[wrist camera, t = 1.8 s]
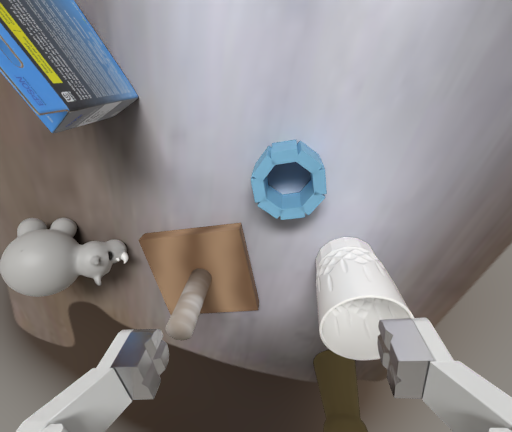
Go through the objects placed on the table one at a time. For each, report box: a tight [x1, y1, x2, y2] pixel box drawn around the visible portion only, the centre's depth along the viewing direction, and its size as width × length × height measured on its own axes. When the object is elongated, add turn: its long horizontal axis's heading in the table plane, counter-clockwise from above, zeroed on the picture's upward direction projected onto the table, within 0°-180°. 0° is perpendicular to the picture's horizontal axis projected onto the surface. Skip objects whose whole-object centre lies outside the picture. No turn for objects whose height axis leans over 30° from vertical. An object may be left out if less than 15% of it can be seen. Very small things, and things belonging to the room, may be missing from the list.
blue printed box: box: [0, 0, 138, 133], centre depth 20 cm, size 9×4×12 cm, turn 29°
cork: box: [313, 350, 368, 432], centre depth 36 cm, size 6×6×11 cm
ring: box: [251, 140, 327, 220], centre depth 27 cm, size 7×7×4 cm
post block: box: [139, 223, 259, 340], centre depth 31 cm, size 12×12×10 cm
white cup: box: [316, 237, 414, 360], centre depth 28 cm, size 8×8×10 cm
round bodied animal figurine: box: [0, 218, 129, 297], centre depth 32 cm, size 7×12×8 cm, turn 78°
